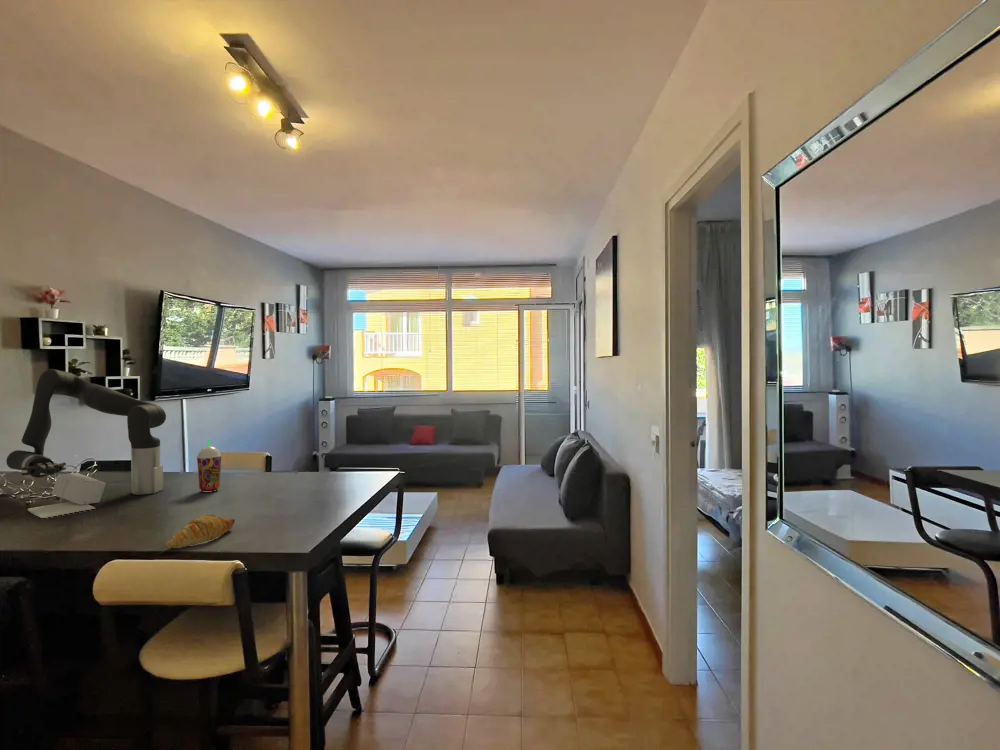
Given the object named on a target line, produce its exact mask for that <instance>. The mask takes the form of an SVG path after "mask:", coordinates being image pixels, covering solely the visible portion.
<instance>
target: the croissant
mask: <svg viewBox="0 0 1000 750" xmlns="http://www.w3.org/2000/svg"><path fill="white" fill-rule="evenodd" d="M235 521H236V520H235V519H234V518H226V517H225V518H222V517H217V516H215V515H213V514H209V515H208V514H205V515H201V516H198V517H195V518H194V519H192V520H191V521H189V522H188V524H187V525H184V527H182V528H181V530H180V531H179V532H177V533H175V534H174V535H173V536H172V537H171V538H170V540H167V541H166V542H165V547H166V549H168V548H169V550H172V549H171V548H177V549H180V548H179V547H185V546H190V545H195V544H198V543H202V542H205V541H209V540H212V539H214V538H216V537H219V536H220V535H222V534H223V533H225V532H226V531H228V530H229V529H230V530H231V529H232V528H233V525H234V524H235ZM230 530H229V531H230ZM229 531H228V532H229ZM226 533H227V532H226ZM226 533H225V534H226ZM223 535H224V534H223ZM223 535H222V536H223ZM185 548H186V547H185Z"/></svg>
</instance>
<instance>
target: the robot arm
mask: <svg viewBox="0 0 1000 750" xmlns="http://www.w3.org/2000/svg"><path fill="white" fill-rule="evenodd" d="M36 383H37V384H36V388H35V394H34V398H33V403H32V409H31V413H30V417H29V420H28V422H27V425H26V427H25V431H24V432H23V436H22V437H21V444H23V445H26V446H29V447H32V448H33V449H34V451H29V450H27V451H26V450H20V449H19V450H18V449H17V450H13V451H12V452H10V453H9V454H8V456H7V457H6V459H5V460H6V461H5V462H6V465H7V467H8V468H10V469H11V470H16V471H21V476H31V477H33V478H37V479H39V478H45V477H47V476H52V475H55V474H59V473H61V472H63V471H66V470H67V463H66V462H61V463H55V462H54V461H53V460H52V459H51V458H50V457H47V456H45V455H44V450H45V444H46V441H47V439H48V436H49V433H50V431H51V428H52V417H51V411H50V410H51V409H50V404H51V399H52V396H53V395H54V394H55V395H59V396H60V395H61V396H68V397H71V398H75V399H78V400H81V401H82V403H83V404H84V405H86V406H87V407H88V408H90V409H93V410H95V411H97V412H98V411H99V412H100V413H104V414H107V415H108V414H109V415H113V416H114V415H115V416H121V417H122V416H123V417H127V419H126V420H127V421H126V422H127V435H128V441H129V443H130V457H131V459H130V461H131V462H130V464H131V466H130V467H131V469H130V471H131V472H130V473H131V474H130V475H131V494H132V495H141V496H142V495H150V494H157V493H159V492H160V491H163V490H164V466H163V465H162V464H161V440H160V438H159V437H156V436H153V435H152V433H151V429H155V428H158V427H160V426H162V425H163V424H165V422H166V421H167V420H166V419H167V414H166V412H165V410H164V409H163V408H162V407H161V406H160V405H158V404H155V403H151V402H147V401H144V400H140V399H136V398H135V397H132V396H129V395H127V394H125V393H121V392H119V391H117V390H115V389H113V388H110V387H106V386H105V385H100V384H97V383H93V382H89V381H86V380H85V379H83V378H82V377H79V376H77V375H76V374H74V373H71V372H68V371H65V370H59V369H53V368H49V369H46V370H45V371H43V372H42V373H41V375H40V376H39V378H38V380H37V382H36ZM156 492H157V493H156Z"/></svg>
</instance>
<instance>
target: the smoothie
mask: <svg viewBox="0 0 1000 750" xmlns="http://www.w3.org/2000/svg"><path fill="white" fill-rule="evenodd" d="M207 444H208V445H207V446H205V447H202V449H201V450H200V451H199V452H198V455H197V456H196V461H197V463H196V464H197V475H198V486H199V487H198V488H199V490H200V492H201V491H214V490H217V489H218V490H219V488H220V487H221V486H220V485H221V467H222V453H221V451H220V450H219V449H218V448H217V447H215V446H212V445H211V439H210V438H208V440H207Z"/></svg>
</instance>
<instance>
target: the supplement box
mask: <svg viewBox="0 0 1000 750" xmlns="http://www.w3.org/2000/svg"><path fill="white" fill-rule="evenodd" d="M57 474H58V475H57V477H56V481H55V483H54V486H53V489H52V491H51V495H52V496H55V497H58V498H61V499H63V500H67V501H68V502H71V501H72V502H75V503H77V504H80V505H83V504H89V505H90V504H97V503H100V501H101V499H102V495H103V493H104V491H105V488H106V484H107V483H106V482H104V481H101V480H99V479H95V478H93V477H90V476H88V475H85V474H82V473H79V472H72V473H57Z"/></svg>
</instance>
